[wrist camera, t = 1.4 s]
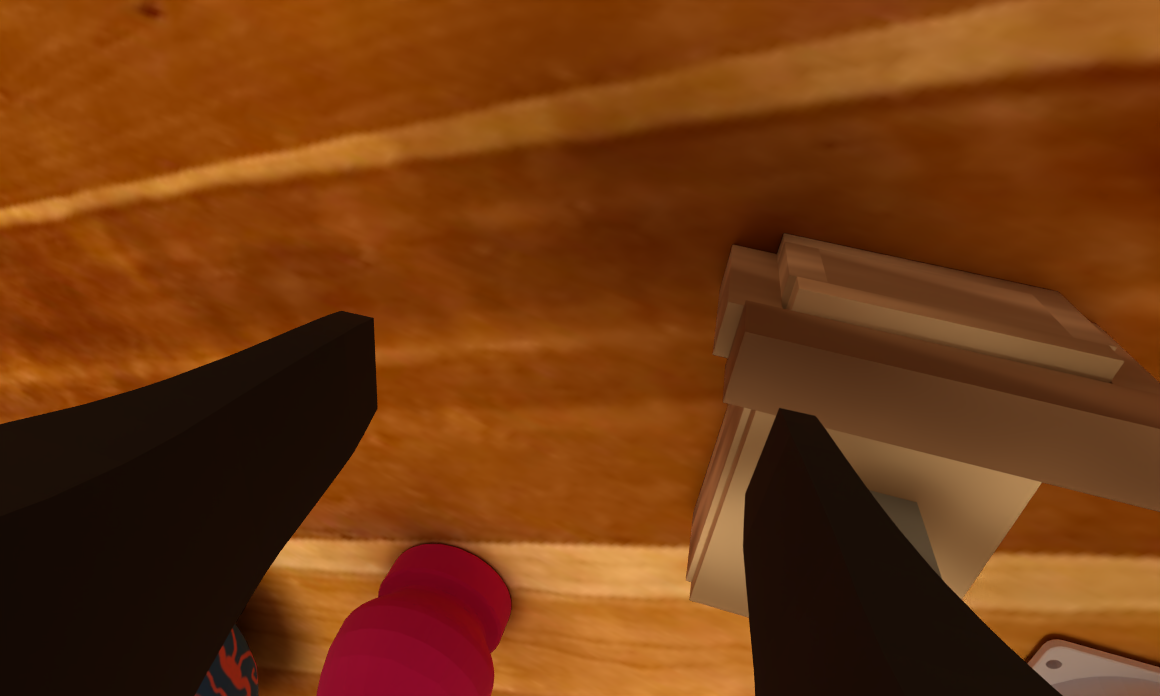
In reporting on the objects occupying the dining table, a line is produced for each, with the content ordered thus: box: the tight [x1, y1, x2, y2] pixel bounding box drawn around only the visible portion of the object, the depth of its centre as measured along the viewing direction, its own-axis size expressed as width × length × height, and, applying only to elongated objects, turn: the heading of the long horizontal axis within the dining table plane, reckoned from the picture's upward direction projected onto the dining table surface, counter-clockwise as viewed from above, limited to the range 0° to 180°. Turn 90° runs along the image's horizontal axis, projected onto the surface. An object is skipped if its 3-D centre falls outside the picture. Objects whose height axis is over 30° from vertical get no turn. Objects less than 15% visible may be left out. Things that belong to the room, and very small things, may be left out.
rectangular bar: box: [723, 300, 1160, 512], centre depth 15 cm, size 2×10×2 cm, turn 82°
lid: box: [689, 277, 1124, 618], centre depth 17 cm, size 12×8×5 cm, turn 172°
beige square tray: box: [686, 233, 1160, 582], centre depth 20 cm, size 12×11×4 cm
